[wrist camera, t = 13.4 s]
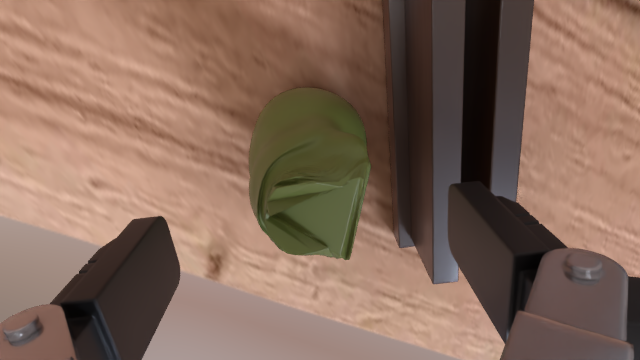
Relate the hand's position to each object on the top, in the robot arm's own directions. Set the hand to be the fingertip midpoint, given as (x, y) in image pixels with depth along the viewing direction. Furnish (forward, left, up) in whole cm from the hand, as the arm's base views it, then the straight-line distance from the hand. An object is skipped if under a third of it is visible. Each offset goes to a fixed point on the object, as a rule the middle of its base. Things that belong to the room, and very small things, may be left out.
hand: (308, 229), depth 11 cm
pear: (0, 0, -11) cm, 11 cm away
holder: (-7, 0, -11) cm, 12 cm away
